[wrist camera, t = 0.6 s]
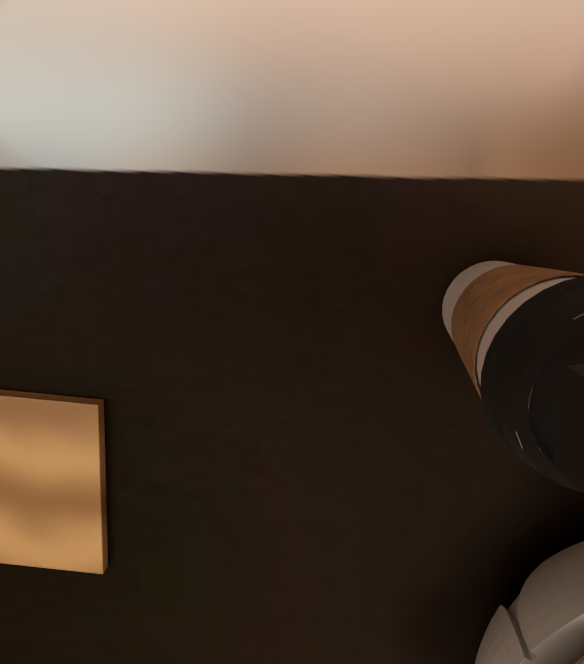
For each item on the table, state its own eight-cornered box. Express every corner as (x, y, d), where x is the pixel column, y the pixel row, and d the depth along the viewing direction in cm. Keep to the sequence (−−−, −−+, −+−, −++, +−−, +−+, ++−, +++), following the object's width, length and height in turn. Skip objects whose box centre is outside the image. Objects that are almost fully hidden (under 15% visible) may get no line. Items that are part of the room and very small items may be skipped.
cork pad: (-92, 380, 36) (-103, 385, 35) (104, 399, 35) (98, 405, 34) (-68, 546, 40) (-78, 555, 39) (108, 565, 39) (103, 574, 38)
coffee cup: (568, 242, 31) (786, 292, 16) (544, 372, 33) (717, 515, 19) (429, 237, 31) (522, 281, 17) (415, 366, 34) (486, 502, 19)
